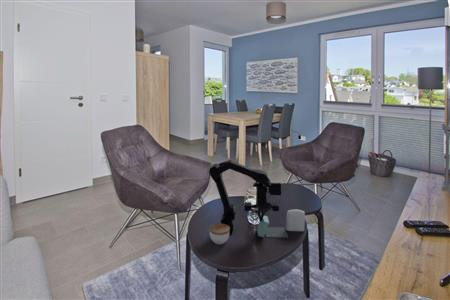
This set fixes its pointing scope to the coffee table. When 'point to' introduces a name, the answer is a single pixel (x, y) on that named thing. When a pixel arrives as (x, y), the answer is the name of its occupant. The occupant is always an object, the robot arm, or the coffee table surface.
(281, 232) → the mat
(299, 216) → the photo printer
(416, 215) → the coffee table surface
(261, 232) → the slab
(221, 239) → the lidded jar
